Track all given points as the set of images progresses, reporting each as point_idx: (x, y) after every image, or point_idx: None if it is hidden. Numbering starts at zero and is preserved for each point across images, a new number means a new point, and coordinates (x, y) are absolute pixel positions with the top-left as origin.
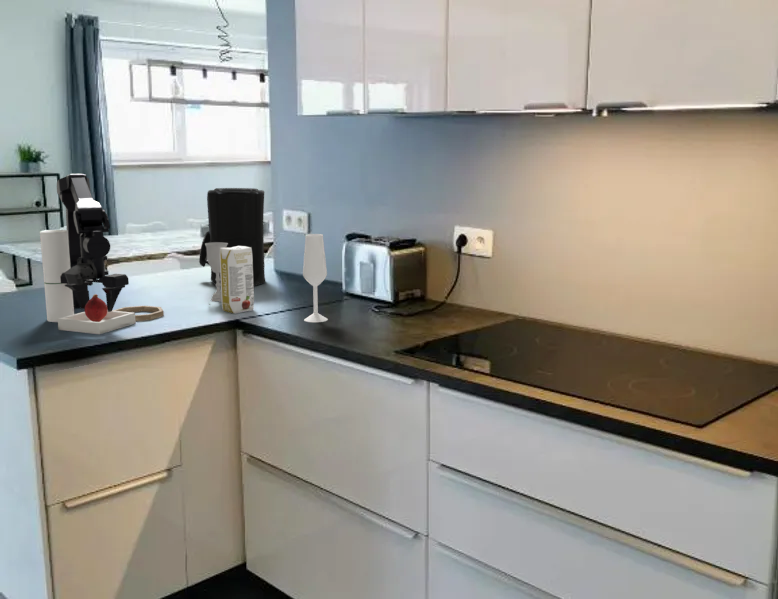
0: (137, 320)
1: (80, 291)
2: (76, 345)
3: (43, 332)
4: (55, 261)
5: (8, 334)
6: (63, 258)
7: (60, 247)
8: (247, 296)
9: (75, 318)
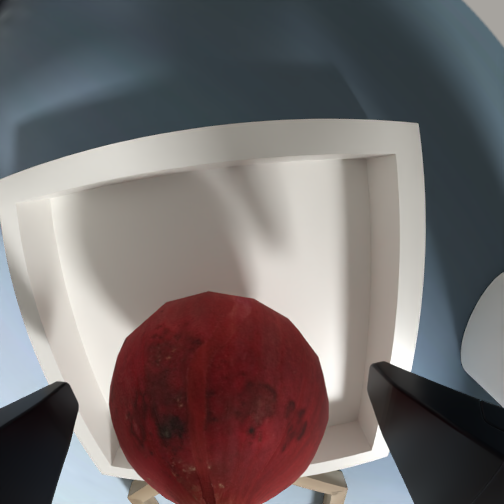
0: None
1: (473, 492)
2: (21, 6)
3: (392, 56)
4: None
5: (464, 6)
6: None
7: None
8: None
9: (385, 285)
